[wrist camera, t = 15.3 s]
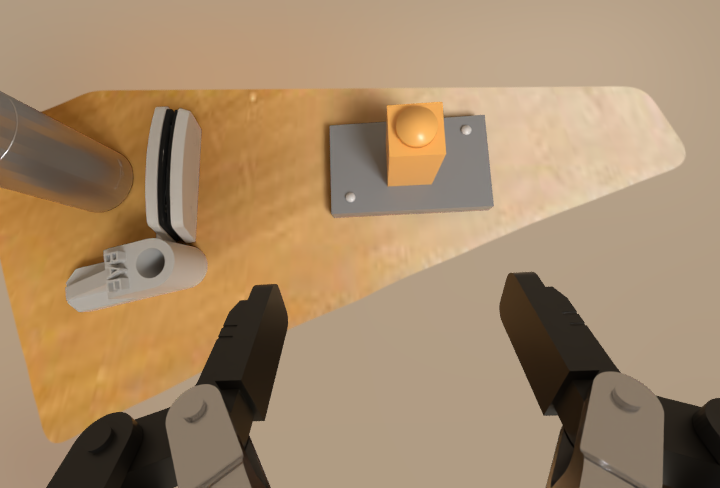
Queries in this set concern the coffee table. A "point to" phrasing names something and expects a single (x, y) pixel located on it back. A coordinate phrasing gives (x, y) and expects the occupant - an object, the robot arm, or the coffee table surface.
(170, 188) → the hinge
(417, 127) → the orange dome-topped block
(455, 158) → the riveted grey base plate
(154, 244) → the grey mounting bracket
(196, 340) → the coffee table surface
